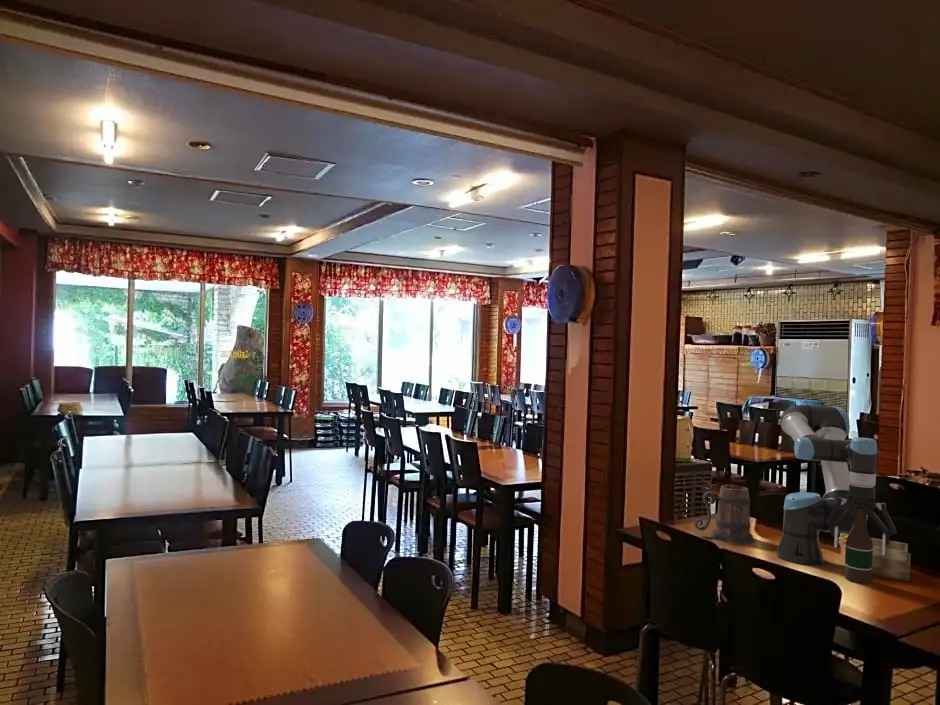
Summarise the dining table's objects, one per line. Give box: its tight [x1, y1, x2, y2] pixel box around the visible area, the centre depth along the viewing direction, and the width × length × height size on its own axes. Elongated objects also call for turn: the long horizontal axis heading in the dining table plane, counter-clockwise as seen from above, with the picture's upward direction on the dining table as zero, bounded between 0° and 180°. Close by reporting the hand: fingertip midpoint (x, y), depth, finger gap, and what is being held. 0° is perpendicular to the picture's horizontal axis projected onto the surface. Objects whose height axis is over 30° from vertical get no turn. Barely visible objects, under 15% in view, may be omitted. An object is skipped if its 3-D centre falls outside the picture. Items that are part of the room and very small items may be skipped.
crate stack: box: [871, 537, 912, 583], centre depth 239 cm, size 15×15×9 cm
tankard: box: [693, 484, 756, 544], centre depth 276 cm, size 24×17×20 cm
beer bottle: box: [843, 508, 873, 585], centre depth 228 cm, size 8×8×24 cm
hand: (859, 550), depth 227 cm, fingers open, 13 cm apart
